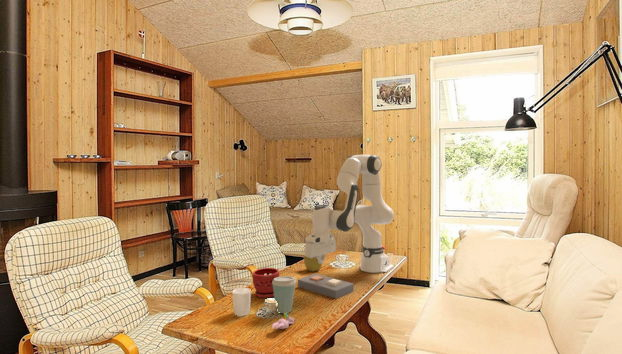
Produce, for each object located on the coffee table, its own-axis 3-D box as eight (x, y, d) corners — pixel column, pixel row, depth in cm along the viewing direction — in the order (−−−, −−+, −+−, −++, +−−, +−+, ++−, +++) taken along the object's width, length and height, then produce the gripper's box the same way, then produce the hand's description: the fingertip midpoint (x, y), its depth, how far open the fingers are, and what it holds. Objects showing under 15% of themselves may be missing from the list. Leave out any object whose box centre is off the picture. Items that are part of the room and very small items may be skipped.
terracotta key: (316, 281, 202) (316, 275, 201) (323, 283, 198) (323, 277, 198) (309, 283, 198) (309, 277, 198) (316, 285, 194) (316, 279, 194)
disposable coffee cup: (267, 310, 166) (267, 277, 166) (287, 304, 173) (287, 272, 172) (280, 318, 158) (280, 282, 157) (301, 312, 164) (301, 278, 164)
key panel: (315, 280, 208) (315, 273, 208) (353, 291, 190) (353, 283, 190) (297, 286, 198) (297, 279, 198) (335, 298, 180) (335, 290, 180)
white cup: (235, 309, 167) (234, 287, 167) (252, 309, 167) (252, 287, 167) (230, 317, 159) (230, 293, 159) (249, 317, 159) (248, 293, 159)
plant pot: (265, 288, 195) (265, 266, 195) (284, 293, 188) (284, 270, 187) (247, 296, 184) (246, 272, 184) (267, 301, 177) (266, 276, 176)
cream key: (333, 284, 193) (333, 278, 193) (341, 286, 190) (341, 280, 190) (327, 286, 190) (327, 281, 190) (334, 289, 186) (334, 283, 186)
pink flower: (285, 323, 156) (266, 331, 143) (286, 308, 157) (267, 315, 143) (299, 325, 153) (280, 334, 140) (300, 310, 154) (281, 318, 141)
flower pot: (323, 270, 227) (323, 256, 227) (311, 273, 222) (311, 258, 222) (315, 267, 234) (314, 253, 234) (303, 269, 230) (303, 255, 229)
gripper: (329, 233, 204) (329, 258, 205) (302, 238, 190) (303, 265, 190) (338, 234, 200) (338, 260, 200) (311, 240, 185) (312, 268, 186)
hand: (321, 263), depth 195 cm, fingers closed
